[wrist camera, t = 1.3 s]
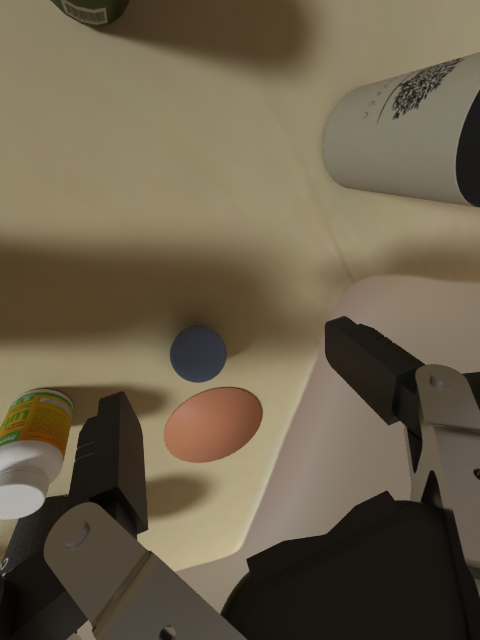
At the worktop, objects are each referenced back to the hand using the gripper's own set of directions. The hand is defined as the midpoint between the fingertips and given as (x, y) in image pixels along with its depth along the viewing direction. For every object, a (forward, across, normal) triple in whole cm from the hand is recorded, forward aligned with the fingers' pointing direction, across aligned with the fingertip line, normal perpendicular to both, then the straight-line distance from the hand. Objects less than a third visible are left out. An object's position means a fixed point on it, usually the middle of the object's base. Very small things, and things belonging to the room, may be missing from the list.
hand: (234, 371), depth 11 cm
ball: (+15, +1, +10) cm, 18 cm away
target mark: (+18, +1, +24) cm, 30 cm away
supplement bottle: (+18, +17, +12) cm, 28 cm away
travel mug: (+18, -19, -5) cm, 27 cm away
